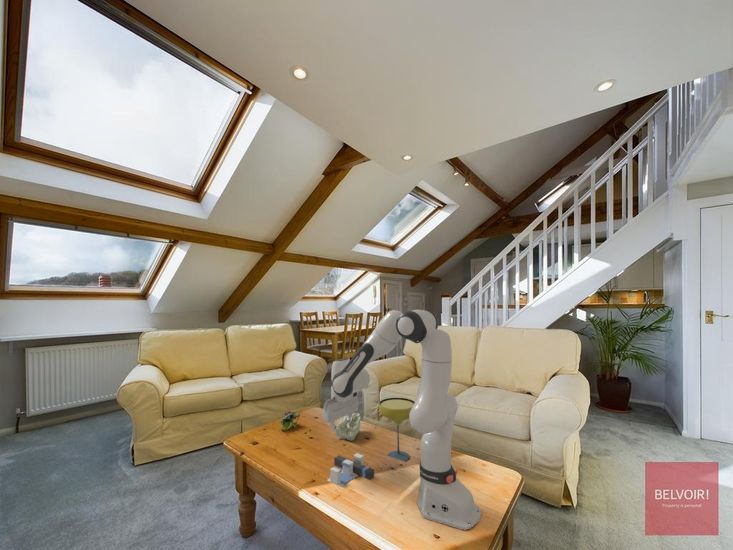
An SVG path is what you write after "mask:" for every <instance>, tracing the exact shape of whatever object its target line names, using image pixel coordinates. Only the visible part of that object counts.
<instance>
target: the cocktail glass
mask: <svg viewBox="0 0 733 550" xmlns="http://www.w3.org/2000/svg"><path fill="white" fill-rule="evenodd" d="M414 403H415V400H412V399H409V398H405V397H388V398H385V399H382V400H380V401H379V403H378V410H379V411H378V412H379V413H380V414H381V416H383V417H384V418H386V419H388V420H391V421H392V422H393V423H394V425H396V427H397V431H396V432H397V434H396V435H397V437H396V438H397V439H396V440H397V442H396V443H397V446H396V447H397V448H396V450H393V451H390V452H388V453H387V456H388V457H391V458H394V459H396V460H399V461H401V462H404V461H405V462H407V461H409V460H410V458H411V456H410V454H409V453H408V452H406V451H403V450H400V438H399V437H400V436H399V435H400V433H399V430H400V428H399V427H400V425H401V424H402V422H403V421H406V420H410V419H409V414H410V411H411V409H412V407H413V405H414ZM408 459H409V460H408Z"/></svg>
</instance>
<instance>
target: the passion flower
mask: <svg viewBox="0 0 733 550" xmlns="http://www.w3.org/2000/svg"><path fill="white" fill-rule="evenodd" d="M300 416H301V414H300V413H298V412H297V413H296V412H294V411H291V410H289V411H287V412H286V411H285V413H284V416H283V417H282V418H281V420H280V421H279V423H280V425H282V427H281V431H282V430H283V431H285V430H286V431H287V430H288V429H290V428H291V427H292V426H293V427H294V430H296V429H297V427H298V426H297V423H298V420H299V418H300ZM296 419H297V420H296ZM294 420H296V422H294ZM283 431H282V432H283Z"/></svg>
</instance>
